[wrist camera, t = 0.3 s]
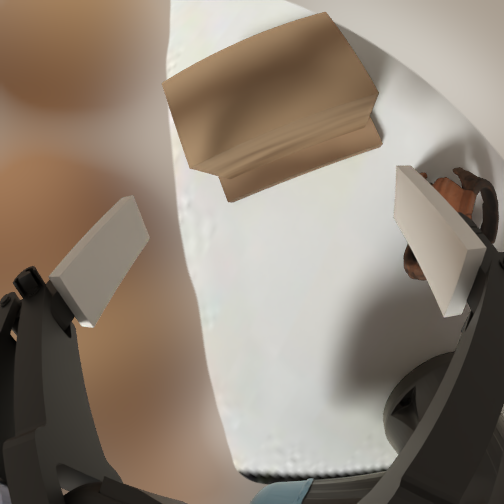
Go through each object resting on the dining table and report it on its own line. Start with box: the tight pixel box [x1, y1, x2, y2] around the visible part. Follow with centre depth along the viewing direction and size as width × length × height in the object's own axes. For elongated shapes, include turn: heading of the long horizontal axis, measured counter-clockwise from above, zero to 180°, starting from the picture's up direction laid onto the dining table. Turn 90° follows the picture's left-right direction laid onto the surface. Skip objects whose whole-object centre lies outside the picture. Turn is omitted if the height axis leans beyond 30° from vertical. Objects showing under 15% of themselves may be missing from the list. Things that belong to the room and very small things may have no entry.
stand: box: [162, 12, 383, 202], centre depth 22 cm, size 12×16×10 cm
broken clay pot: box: [404, 167, 499, 280], centre depth 21 cm, size 12×10×8 cm
